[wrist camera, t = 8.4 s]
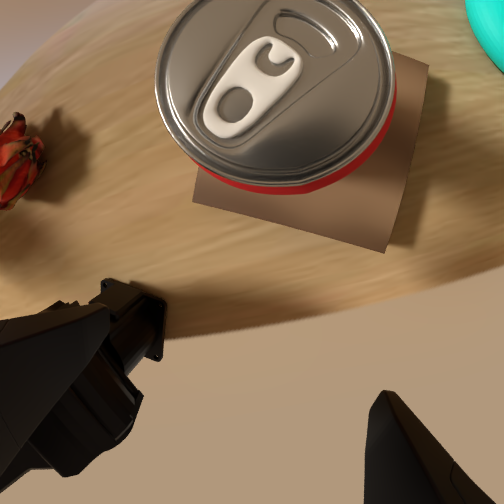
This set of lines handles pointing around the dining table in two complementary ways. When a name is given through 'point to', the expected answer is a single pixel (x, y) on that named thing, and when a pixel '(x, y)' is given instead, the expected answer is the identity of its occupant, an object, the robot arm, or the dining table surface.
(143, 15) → the dining table surface
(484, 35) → the donuts
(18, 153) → the dragon fruit
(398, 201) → the walnut plinth
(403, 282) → the dining table surface
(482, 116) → the dining table surface
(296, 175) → the beverage can
